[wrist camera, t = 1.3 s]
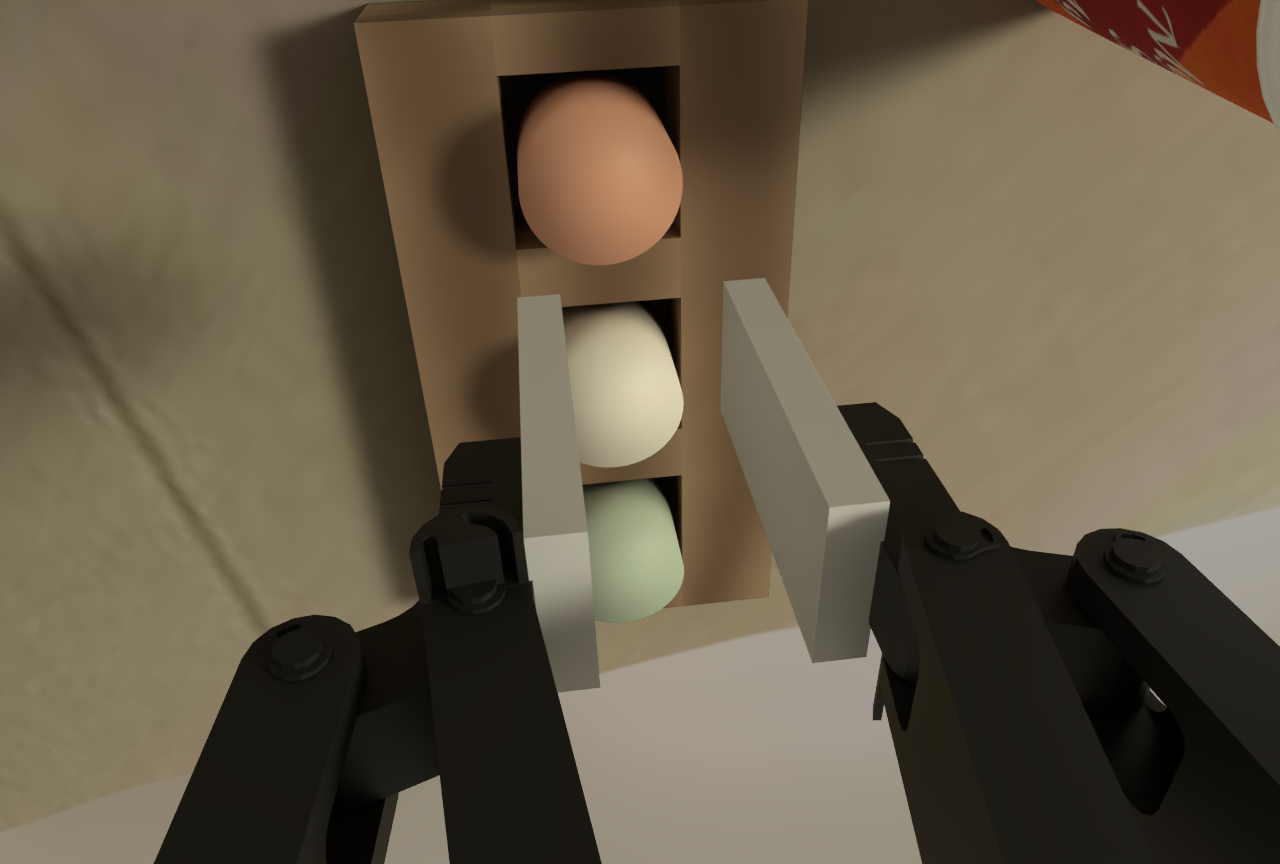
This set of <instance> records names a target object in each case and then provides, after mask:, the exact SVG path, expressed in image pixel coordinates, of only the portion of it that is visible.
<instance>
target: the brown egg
mask: <svg viewBox="0 0 1280 864" xmlns="http://www.w3.org/2000/svg"><path fill="white" fill-rule="evenodd" d="M517 164H518V191H519V199H520V205H521V208H522V211H523V214H524V217H525V219H526V221H527V223H528V225H529V226H530V228H531V230H532V231H533V233H534V234H535V235H536V236H537V237H538V239H539V240H540V241H541V242H542V243H543V244H544V245H546V246H547V247H548V248H549V249H551V250H552V251H553V252H555V253H556V254H558V255H560V256H562V257H564V258H566V259H569V260H571V261H574V262H578V263H582V264H587V265H610V264H617V263H620V262H624V261H627V260H630V259H632V258H635V257H637V256H638V255H640V254H642V253H644V252H645V251H647V250H648V249H650V248H651V247H652V246H653V245H655V244H656V243H657V242H658V241H659V240H660V239H661V238H662V236H663V235H664V234H665V233H666V232H667V230H668V229H669V227H670V226H671V224H672V223H673V220H674V218H675V216H676V214H677V212H678V209H679V206H680V202H681V197H682V189H683V177H682V169H681V164H680V161H679V158H678V155H677V152H676V150H675V148H674V146H673V144H672V142H671V140H670V138H669V136H668V134H667V132H666V130H665V128H664V126H663V125H662V123H661V121H660V119H659V117H658V115H657V113H656V111H655V109H654V107H653V105H652V104H651V102H650V101H649V100H648V98H647V97H646V96H645V95H644V94H643V93H642V92H641V91H640V90H639V89H638V88H637V87H635V86H634V85H633V84H631V83H630V82H628V81H626V80H625V79H622V78H620V77H618V76H616V75H612V74H609V73H604V72H598V71H584V72H576V73H573V74H569V75H566V76H563V77H561V78H559V79H557V80H555V81H553V82H552V83H550V84H548V85H547V86H546V87H545V88H543V89H542V90H541V91H540V92H539V93H538V94H537V95H536V96H535V97H534V98H533V100H532V101H531V103H530V104H529V105H528V107H527V109H526V111H525V113H524V114H523V117H522V120H521V122H520V126H519V130H518V135H517Z"/></svg>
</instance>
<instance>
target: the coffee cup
mask: <svg viewBox="0 0 1280 864" xmlns="http://www.w3.org/2000/svg"><path fill="white" fill-rule="evenodd" d="M1035 1H1037V2H1039V3H1040V4H1042V5H1044V6H1046V7H1048V8H1049V9H1051V10H1053V11H1055V12H1056V13H1058V14H1060V15H1062V16H1064V17H1066V18H1068V19H1070V20H1072V21H1073V22H1075V23H1077V24H1079V25H1081V26H1083V27H1085V28H1087V29H1089V30H1091V31H1092V32H1094V33H1096V34H1098V35H1100V36H1102V37H1104V38H1106V39H1108V40H1110V41H1112V42H1114V43H1116V44H1118V45H1120V46H1122V47H1124V48H1126V49H1128V50H1130V51H1132V52H1133V53H1135V54H1137V55H1139V56H1141V57H1143V58H1145V59H1147V60H1149V61H1151V62H1153V63H1155V64H1157V65H1159V66H1161V67H1163V68H1165V69H1167V70H1169V71H1171V72H1173V73H1175V74H1177V75H1179V76H1181V77H1183V78H1185V79H1187V80H1189V81H1191V82H1193V83H1195V84H1197V85H1199V86H1201V87H1203V88H1205V89H1207V90H1209V91H1210V92H1212V93H1214V94H1216V95H1218V96H1220V97H1222V98H1224V99H1226V100H1228V101H1230V102H1232V103H1234V104H1236V105H1238V106H1240V107H1242V108H1244V109H1246V110H1248V111H1250V112H1252V113H1254V114H1256V115H1258V116H1260V117H1262V118H1264V119H1266V120H1268V121H1270V122H1272V123H1273V124H1274V126H1275V127H1276V128H1277V130H1278V131H1279V133H1280V0H1035Z"/></svg>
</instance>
